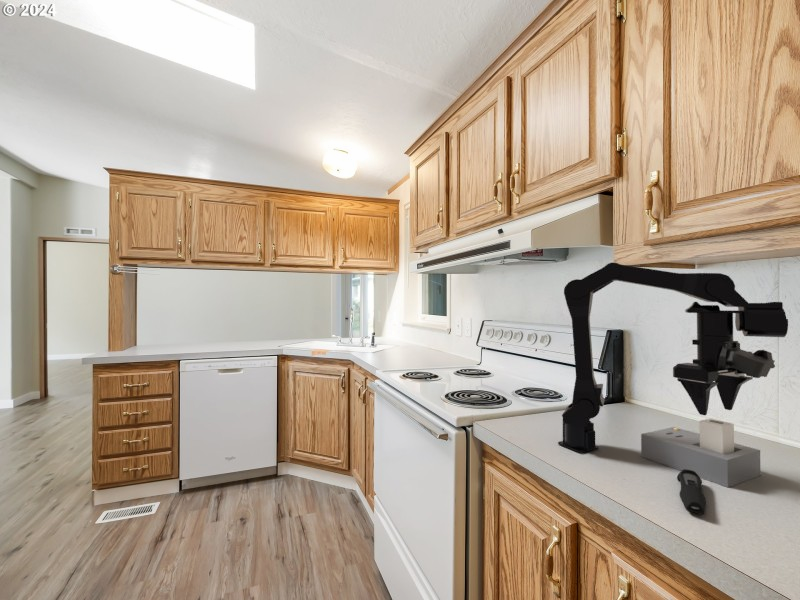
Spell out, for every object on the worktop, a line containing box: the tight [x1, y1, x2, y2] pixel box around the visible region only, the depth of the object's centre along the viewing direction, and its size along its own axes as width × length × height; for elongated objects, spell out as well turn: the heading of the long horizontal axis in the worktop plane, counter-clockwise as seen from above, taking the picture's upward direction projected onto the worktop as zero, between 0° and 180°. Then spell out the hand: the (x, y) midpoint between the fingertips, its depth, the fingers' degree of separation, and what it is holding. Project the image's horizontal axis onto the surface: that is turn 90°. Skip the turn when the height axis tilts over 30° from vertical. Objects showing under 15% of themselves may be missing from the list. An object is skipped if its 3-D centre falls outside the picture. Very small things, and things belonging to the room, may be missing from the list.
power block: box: [640, 426, 762, 488], centre depth 80 cm, size 16×12×5 cm
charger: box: [699, 418, 735, 455], centre depth 77 cm, size 4×4×8 cm
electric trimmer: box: [676, 469, 707, 515], centre depth 66 cm, size 4×16×3 cm, turn 146°
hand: (715, 412), depth 77 cm, fingers open, 9 cm apart
